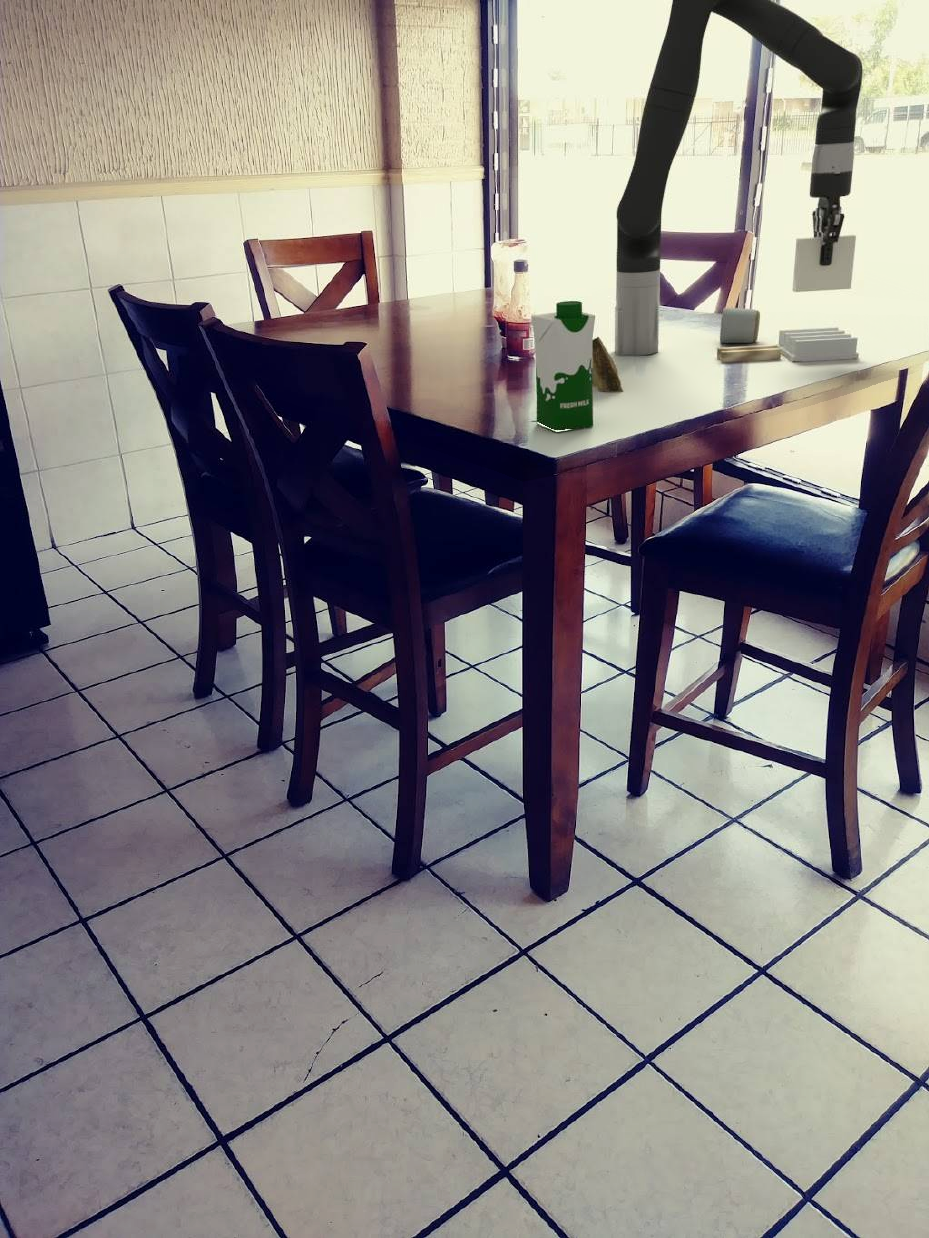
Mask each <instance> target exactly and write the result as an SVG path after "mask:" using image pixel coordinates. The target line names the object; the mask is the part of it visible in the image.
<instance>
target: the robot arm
mask: <svg viewBox="0 0 929 1238" xmlns="http://www.w3.org/2000/svg"><path fill="white" fill-rule="evenodd" d="M671 2H672V4H671V7H670V14H669V19H668V24H667V28H666V31H665V36H664V38H663V42H662V45H661V48H660V50H659V54H658V58H657V61H656V65H655V68H654V72H653V74H652V75H653V76H652V79H651V81H650V85H649V87H648V92H647V96H646V100H645V102H644V107H643V113H642V116H641V120H640V121H641V122H640V127H639V132H638V133H639V134H638V140H637V146H636V154H635V159H634V162H633V166H632V169H631V171H630V175H629V177H628V181H627V184H626V185H625V189H624V192H623V194H622V197H621V199H620V200H619V202H618V204H617V207H616V229H617V231H616V282H615V283H616V286H615V287H616V288H615V289H616V290H615V291H616V296H615V297H616V299H615V300H616V302H615V303H616V304H615V305H616V306H615V307H614V308H615V309H614V351H615V353H616V355H618V356H645V355H646V356H647V355H653V354H655V353H657V352H659V334H660V333H659V331H660V329H659V327H660V293H661V292H660V291H661V288H660V287H661V284H660V283H661V255H662V254H661V253H662V251H661V249H662V248H661V246H662V245H661V244H662V243H661V242H662V240H661V239H662V211H663V206H664V205H663V203H664V200H665V193H666V187H667V183H668V178H669V174H670V170H671V167H672V165H673V161H674V159H675V157H676V155H677V152H678V150H679V148H680V145H681V142H682V139H683V137H684V134H685V132H686V128H687V126H688V123H689V120H690V116H691V114H692V109H693V107H694V103H695V100H696V97H697V91H698V86H699V82H700V81H699V80H700V75H701V64H702V54H703V53H702V52H703V43H704V37H705V34H706V29H707V27H708V23H709V20H710V17H711V14H712V13H713V14H716V15H718V16H719V17H722V18H725V19H726V20H728V21H730V22H732V23H733V24H734V25H737V26H738V27H740V28H741V29H742V30H744V31H745V32H747V33H748V35H750V36H752V37H753V38H754V39H755V40H757V41H758V43H760V44H761V45H762V46H764V48H766V49H767V50H768V51H770V52H772V54H774V55H776V56H777V57H778V58H780V59H781V60H783V61H784V62H785V63H787V64H789V65H790V66H791V67H792V68H793V67H794V68H796V69H797V70H799V71H800V72H801V73H803V74H804V75H805V76H806V77H807V78H808V79H810V80H811V81H812V82H813V83H815V84H816V85H817V86H819V87H820V88H821V89H822V97H821V105H820V107H821V108H820V109H821V110H820V113H819V115H818V117H817V120H816V122H817V123H816V129H815V140H814V141H815V142H814V149H813V155H812V161H811V171H810V172H811V173H810V174H811V175H810V185H809V186H810V187H809V196H810V198H812V199H813V198H814V199H815V198H816V199H817V198H818V202H817V207H815V210H813V211H812V212H811V213H812V214H811V215H812V228H813V237H821V252H820V265H821V266H827V265H831V263H832V253H833V245H835V242H838V239H839V236H841V231H842V227H843V224H844V220H845V214H844V213H842V206H841V197H847V196H849V195H850V194H851V189H852V180H853V171H854V159H855V147H854V146H855V135H856V134H855V133H856V123H857V122H856V121H857V120H856V117H857V109H858V103H859V99H860V93H861V87H862V81H863V64H862V63H863V62H862V60H861V59H860V57H859V55H857V54H856V53H854V52H852V51H850V50H848V49H846V48H844V47H842V46H841V45H840V44H838V43H836V42H835V41H833V40H832V39H830V38H828V37H826V36H825V35H823V32H822V31H821V30H820V29H818V28H817V27H816V26H815V25H813V24H812V23H810V22H809V21H807V20H806V19H805V18H803V17H801V16H800V15H799V14H797V13H795V11H792V10H790V9H789V8H787V7H785V6H783V5H782V4H780V3H778V2H777V1H774V0H672V1H671Z"/></svg>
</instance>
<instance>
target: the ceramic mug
mask: <svg viewBox="0 0 929 1238" xmlns="http://www.w3.org/2000/svg"><path fill="white" fill-rule="evenodd" d="M760 318H761V312H760V311H759V310H757V309H752V308H741V307H740V308H739V307H729V306H726V307H725V306H724V308H723V310H722V314H721V323H720V330H719V331H720V333H719V334H720V335H719V342H720V344H753V343H756V342H757V340H758V337H759V330H760V329H759V328H760V321H761V319H760Z"/></svg>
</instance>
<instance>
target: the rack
mask: <svg viewBox="0 0 929 1238" xmlns="http://www.w3.org/2000/svg"><path fill="white" fill-rule="evenodd" d="M775 345H776V346H777V348H781V353H782V354H781V355H783V357H785V358H786V359H788V360H789V361H791V362H792V361H802V362H816V361H817V362H818V361H835V360H837V361H838V360H854V359H853V358H858V359H859V356H860V355H859V354H860V353H859V352H857V349H858V348H857V346H858V337H857V336H856V337H852V334H851V333H845V330H843V329H842V330H839V327H837V326H833V327H832V326H831V327H830V326H829V327H813V328H812V327H811V328H795V329H792V328H791V329H780V330H779V333H778V344H775Z"/></svg>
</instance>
